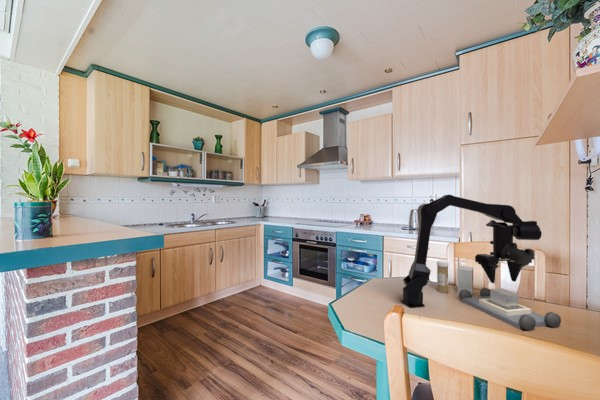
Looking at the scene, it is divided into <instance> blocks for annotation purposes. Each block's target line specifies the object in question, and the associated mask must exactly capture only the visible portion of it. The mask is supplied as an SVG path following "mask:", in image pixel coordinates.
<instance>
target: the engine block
mask: <svg viewBox="0 0 600 400" xmlns="http://www.w3.org/2000/svg"><path fill="white" fill-rule="evenodd" d="M489 289H490V288H489ZM490 297H491V303H492V304H494V305H496V306H499V307H501V308H503V309H506V310H513V309H518V304H519V294H518V293H516V292H513V291H510V290H508V289H504V288H491V289H490Z"/></svg>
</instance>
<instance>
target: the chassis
mask: <svg viewBox="0 0 600 400" xmlns="http://www.w3.org/2000/svg"><path fill="white" fill-rule="evenodd" d="M458 296H459V299H460V300H461V301H462V303H464V304H466V305H469V306H471V307H472V308H474V309H477V310H479V311H480V312H483V313H485V314H487V315H489V316H491V317H493V318H496V319H497V320H499V321H502V322H504V323H506V324H508V325H510V326H512V327H514V328H517V329H518V330H521V329H522V330H523V329H524V330H525V331H528V332H531V331H533V330H535V328H539V327H551V328H554V329H557V328H558V327H560V325H561V323H562V318H561V316H560V315H559V313H555V312H553V311H548V312H546V314H544V315H543V314H540V313H537V312H536V311H535V312H534V311H532V308H529V307H526V306H525V305H521V304H519V303H518V309H513V310H506V309H503V308H501V307H499V306H496V305H494V304H492V303H491V297H490V288H488V287H483V288H481V289H480V291H479V296H475V297H474V296H473V295H471V292H470V291H468V290H465V289H463V290H461V291H460V293H458ZM472 296H473V297H472Z"/></svg>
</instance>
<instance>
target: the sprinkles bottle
mask: <svg viewBox="0 0 600 400" xmlns="http://www.w3.org/2000/svg"><path fill="white" fill-rule="evenodd" d="M436 266H437V267H436V277H437V278H436V281H437V282H436V283H437V289H436V290H437V292H439V293H443V294H447V293H449V262H448V261H446V260H437V261H436Z"/></svg>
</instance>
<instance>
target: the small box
mask: <svg viewBox="0 0 600 400" xmlns="http://www.w3.org/2000/svg"><path fill="white" fill-rule="evenodd" d="M456 270H457V273H456V275H457V277H456V278H457V279H456V280H457V293H458V294H459V293H460V291H461V290H463V289H465V290H468V291H470V292H471V295H472V296H473V294H474V267H473V266H465V265H459V266H458V268H457V269H456Z"/></svg>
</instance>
